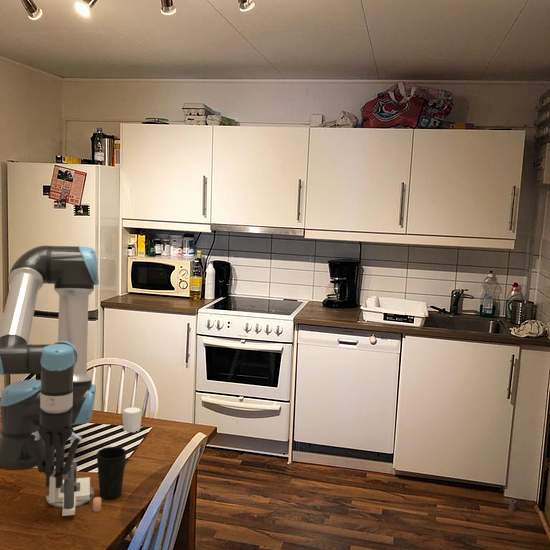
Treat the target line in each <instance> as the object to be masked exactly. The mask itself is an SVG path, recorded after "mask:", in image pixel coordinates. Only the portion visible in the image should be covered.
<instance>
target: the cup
mask: <svg viewBox="0 0 550 550" xmlns="http://www.w3.org/2000/svg"><path fill="white" fill-rule="evenodd" d="M126 457H127V451H126V449H124V448H122V447H121V446H120V447H118V446H107V447H104V448H101V449H99V450H98V451H97V453H96V461H97V473H98V475H97V477H98V485H99V497H101V499H102V500H105V501H106V500H107V501H111V500H116V499H118V498H120V497H121V496H122V491H123V490H122V489H123V484H124V483H123V482H124V473H125V465H126Z"/></svg>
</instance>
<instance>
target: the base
mask: <svg viewBox="0 0 550 550" xmlns="http://www.w3.org/2000/svg"><path fill="white" fill-rule="evenodd" d="M64 465H65V463H64ZM77 471H78V463H77V462H75V461H73V463H72V467H71V470H70V471H69V472H68V473H67V474H66V475H63V479H64V480H65V479H68V478H73V479H74V492H77V491H80V487H77V478H78V477H77V475H78V472H77ZM94 491H95V490H94V488H93V486H91V485H90V499H88V500H77V501H76V504H75V508H76V507H77V508H78V507H80V506H83V505H85V504H88V502H90V501H91V500H93V498H94ZM60 493H64V488H61V491H60ZM45 498H46V499H45V500H46V503H47V504H49V505H50V506H52V507H54V508H59V509H63V502H55V503H49V490H48V491H47V493H46V497H45Z"/></svg>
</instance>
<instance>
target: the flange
mask: <svg viewBox="0 0 550 550" xmlns="http://www.w3.org/2000/svg"><path fill="white" fill-rule="evenodd" d="M90 486H91V477H90V476H89V477H79V478H78V477H77V487H80V491H77V492H74V479H73V478H68V479H65V480H64V478H63V484H62V486H61V487H60V488H59V497H58V498H57V499H56V500H55V502H63V508H61V511H62V512H61V513H62V514H61V515H62V517H65V516H75V515H76V507H75V504H76V501H77V500H88V499H90ZM61 488H64V493H60V491H61ZM55 502H49V503H55Z"/></svg>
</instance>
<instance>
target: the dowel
mask: <svg viewBox="0 0 550 550" xmlns="http://www.w3.org/2000/svg"><path fill="white" fill-rule="evenodd" d="M92 501H93V502H92V511H93V512H96V513H98V512H101V510H102V498H101V497H100V496H95V497H93V498H92Z"/></svg>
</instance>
